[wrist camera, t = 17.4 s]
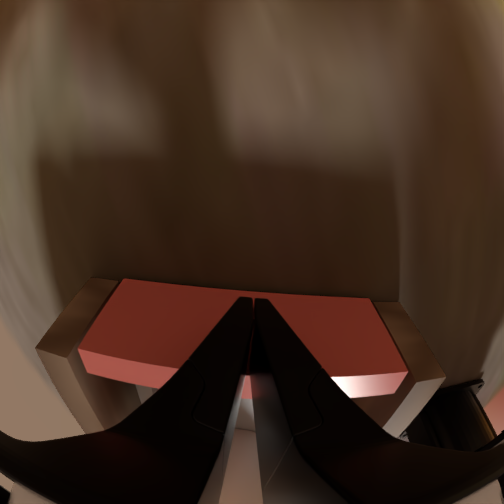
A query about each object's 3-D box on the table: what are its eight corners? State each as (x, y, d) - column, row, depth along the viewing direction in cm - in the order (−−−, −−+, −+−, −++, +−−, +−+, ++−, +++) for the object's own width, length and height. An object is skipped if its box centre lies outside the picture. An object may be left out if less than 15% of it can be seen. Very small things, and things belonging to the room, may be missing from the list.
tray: (368, 298, 12) (408, 371, 8) (295, 457, 19) (299, 502, 15) (123, 278, 12) (77, 348, 7) (166, 448, 19) (157, 492, 15)
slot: (399, 302, 12) (446, 377, 8) (311, 461, 20) (316, 507, 16) (91, 277, 12) (35, 347, 7) (149, 450, 20) (139, 495, 15)
